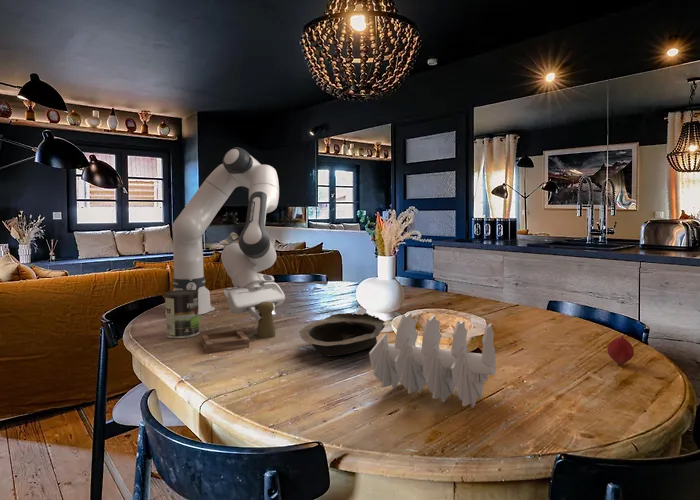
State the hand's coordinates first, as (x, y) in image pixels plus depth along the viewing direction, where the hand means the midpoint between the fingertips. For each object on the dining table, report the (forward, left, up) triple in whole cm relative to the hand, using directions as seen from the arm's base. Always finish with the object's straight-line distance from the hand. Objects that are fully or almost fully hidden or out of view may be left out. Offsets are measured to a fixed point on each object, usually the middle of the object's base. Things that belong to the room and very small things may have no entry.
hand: (267, 318), depth 144 cm
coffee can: (-15, -24, -6) cm, 29 cm away
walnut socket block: (+3, -14, -6) cm, 16 cm away
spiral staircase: (+62, +20, -6) cm, 66 cm away
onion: (+68, +75, -6) cm, 102 cm away
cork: (-1, 0, -6) cm, 6 cm away
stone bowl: (+25, +15, -6) cm, 30 cm away
